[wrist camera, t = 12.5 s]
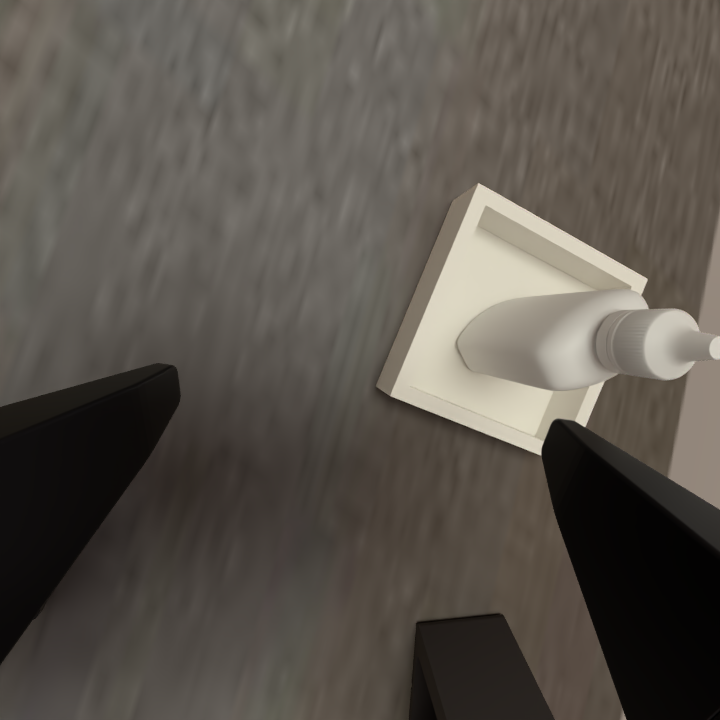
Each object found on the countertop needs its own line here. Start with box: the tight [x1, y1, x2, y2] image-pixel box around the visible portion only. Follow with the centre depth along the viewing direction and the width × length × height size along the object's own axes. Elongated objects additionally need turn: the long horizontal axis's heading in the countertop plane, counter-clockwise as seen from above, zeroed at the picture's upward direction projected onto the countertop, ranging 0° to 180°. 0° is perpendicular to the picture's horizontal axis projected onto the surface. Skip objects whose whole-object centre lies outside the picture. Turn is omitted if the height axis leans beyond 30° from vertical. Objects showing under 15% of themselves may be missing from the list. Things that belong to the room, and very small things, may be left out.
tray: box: [376, 183, 648, 455], centre depth 22 cm, size 12×12×3 cm
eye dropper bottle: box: [457, 289, 720, 391], centre depth 17 cm, size 4×6×12 cm
